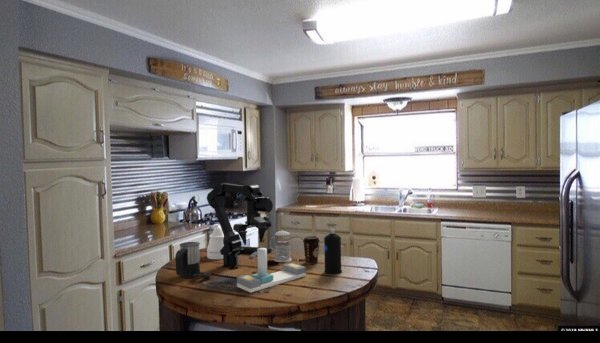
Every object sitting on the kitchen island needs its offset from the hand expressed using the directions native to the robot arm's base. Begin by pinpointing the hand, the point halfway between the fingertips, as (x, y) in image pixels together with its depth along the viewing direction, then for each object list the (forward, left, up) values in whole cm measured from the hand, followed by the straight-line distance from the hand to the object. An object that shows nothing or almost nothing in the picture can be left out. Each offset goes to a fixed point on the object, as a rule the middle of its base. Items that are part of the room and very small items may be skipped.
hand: (253, 243), depth 175 cm
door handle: (-11, +29, -14) cm, 34 cm away
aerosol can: (+38, +2, -13) cm, 40 cm away
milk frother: (-24, -13, -13) cm, 30 cm away
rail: (+13, -14, -13) cm, 23 cm away
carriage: (+10, -19, -11) cm, 24 cm away
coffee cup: (+26, +16, -13) cm, 33 cm away
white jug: (-27, +23, -13) cm, 38 cm away
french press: (+9, +20, -13) cm, 26 cm away
